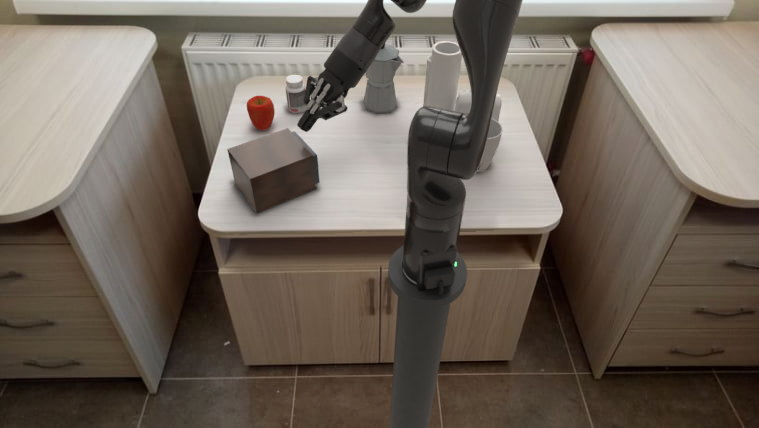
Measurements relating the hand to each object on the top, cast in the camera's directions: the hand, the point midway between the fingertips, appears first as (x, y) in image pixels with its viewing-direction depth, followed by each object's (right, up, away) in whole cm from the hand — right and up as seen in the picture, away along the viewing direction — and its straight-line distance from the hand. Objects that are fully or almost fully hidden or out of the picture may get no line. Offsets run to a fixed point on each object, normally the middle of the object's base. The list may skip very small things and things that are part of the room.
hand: (301, 128), depth 110 cm
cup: (+37, -6, +12) cm, 40 cm away
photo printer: (+38, +1, +19) cm, 43 cm away
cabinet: (-6, -11, +5) cm, 14 cm away
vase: (+30, +6, +24) cm, 39 cm away
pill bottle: (-5, +9, +27) cm, 29 cm away
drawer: (-4, -10, +6) cm, 12 cm away
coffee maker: (+15, +11, +29) cm, 34 cm away
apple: (-12, +4, +21) cm, 25 cm away
